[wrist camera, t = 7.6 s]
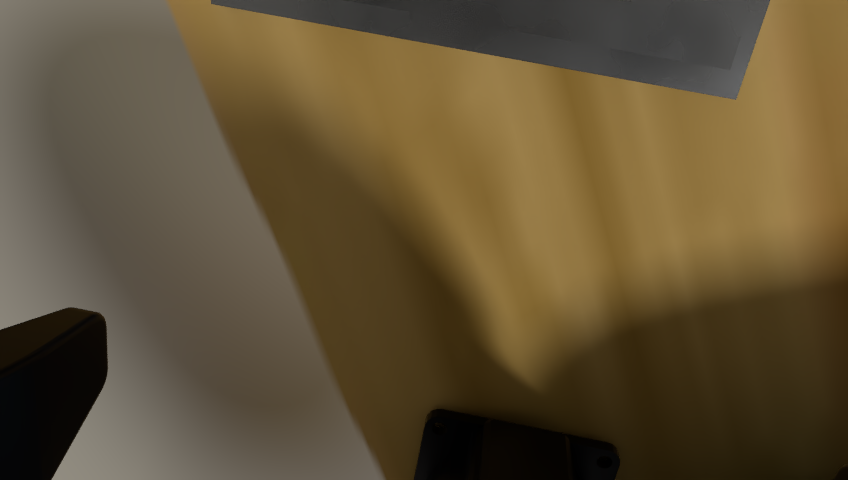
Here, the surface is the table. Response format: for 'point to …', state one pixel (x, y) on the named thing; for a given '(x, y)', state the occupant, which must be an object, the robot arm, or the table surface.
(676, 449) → the table surface
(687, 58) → the jack stand base
